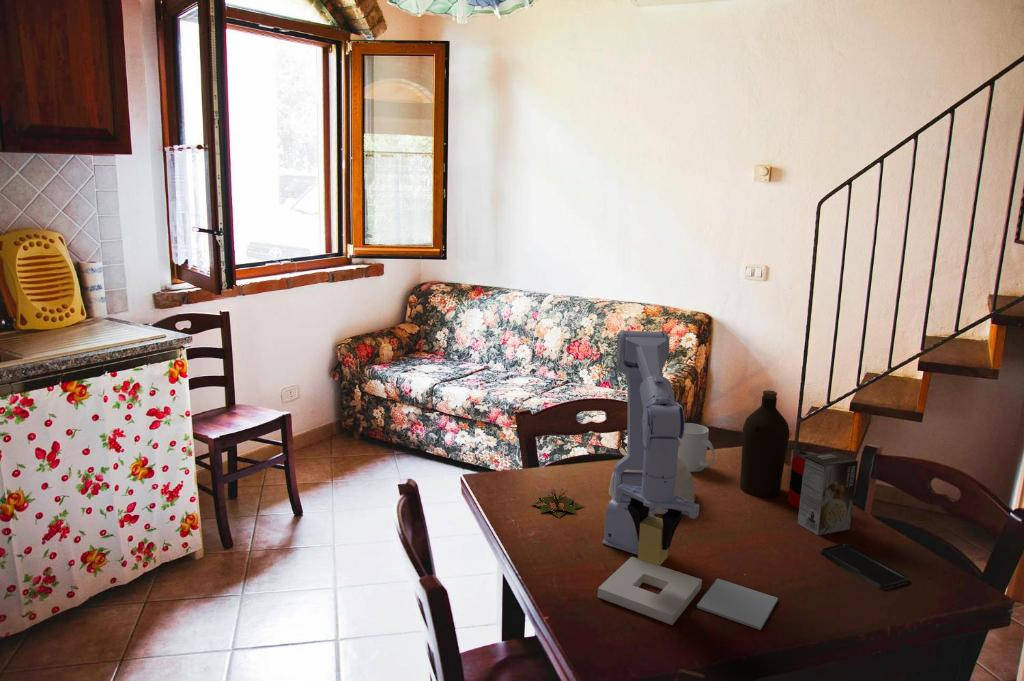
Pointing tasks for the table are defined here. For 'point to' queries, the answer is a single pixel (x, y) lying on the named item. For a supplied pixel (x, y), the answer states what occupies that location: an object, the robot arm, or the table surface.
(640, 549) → the block
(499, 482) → the table surface
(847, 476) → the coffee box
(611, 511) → the robot arm
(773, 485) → the olive oil
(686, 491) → the kettle
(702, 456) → the mug
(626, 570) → the pocket holder
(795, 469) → the soda can
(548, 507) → the green leafy plant
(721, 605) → the mat
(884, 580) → the phone
